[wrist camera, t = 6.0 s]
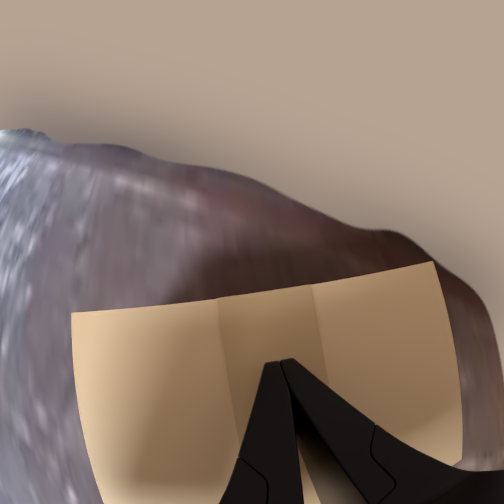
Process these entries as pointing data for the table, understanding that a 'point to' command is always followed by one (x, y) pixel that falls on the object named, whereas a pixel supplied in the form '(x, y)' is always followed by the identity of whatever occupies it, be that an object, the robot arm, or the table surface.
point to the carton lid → (258, 377)
